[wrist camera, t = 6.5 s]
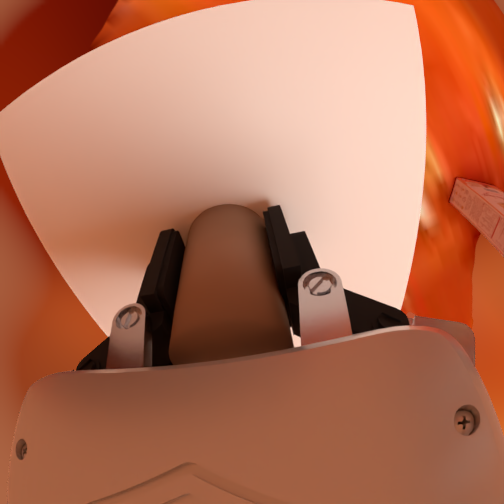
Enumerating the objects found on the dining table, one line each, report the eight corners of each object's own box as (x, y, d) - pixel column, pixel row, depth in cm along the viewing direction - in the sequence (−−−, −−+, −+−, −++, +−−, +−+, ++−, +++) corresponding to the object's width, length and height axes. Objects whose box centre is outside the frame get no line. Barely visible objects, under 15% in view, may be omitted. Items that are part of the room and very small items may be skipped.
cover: (86, 89, 17) (-101, 176, 2) (326, 29, 16) (525, 0, 1) (159, 272, 28) (128, 442, 14) (346, 233, 27) (428, 394, 13)
